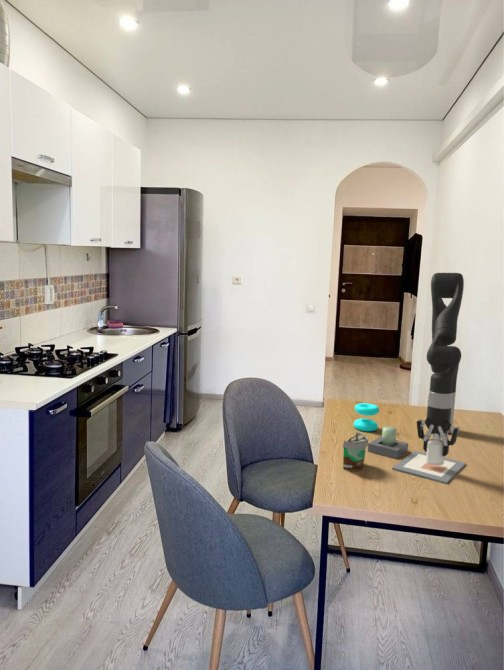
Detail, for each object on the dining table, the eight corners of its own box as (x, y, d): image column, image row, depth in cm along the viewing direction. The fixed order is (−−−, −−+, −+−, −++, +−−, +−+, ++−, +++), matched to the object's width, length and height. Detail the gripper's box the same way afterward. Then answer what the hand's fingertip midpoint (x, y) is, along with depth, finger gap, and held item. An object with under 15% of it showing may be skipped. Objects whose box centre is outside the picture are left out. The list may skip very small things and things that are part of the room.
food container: (359, 474, 171) (361, 445, 170) (341, 470, 174) (343, 441, 173) (371, 463, 182) (373, 435, 180) (354, 459, 185) (356, 431, 183)
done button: (384, 441, 197) (385, 425, 197) (397, 444, 195) (398, 428, 194) (379, 444, 193) (380, 428, 193) (392, 447, 191) (393, 431, 190)
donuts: (384, 407, 217) (364, 409, 213) (382, 431, 218) (362, 433, 214) (369, 401, 226) (350, 403, 222) (368, 424, 227) (348, 426, 223)
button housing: (379, 443, 202) (380, 436, 202) (407, 450, 196) (408, 443, 195) (367, 451, 193) (368, 443, 193) (396, 458, 187) (397, 450, 186)
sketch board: (414, 452, 194) (414, 450, 194) (465, 464, 184) (465, 462, 184) (392, 469, 177) (392, 467, 177) (446, 483, 166) (446, 481, 166)
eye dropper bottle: (442, 467, 174) (445, 432, 173) (424, 463, 177) (427, 429, 176) (444, 463, 178) (447, 428, 177) (427, 459, 181) (430, 425, 179)
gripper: (465, 406, 174) (460, 455, 176) (422, 398, 182) (418, 445, 185) (458, 411, 168) (453, 462, 170) (414, 402, 176) (410, 451, 179)
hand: (435, 453), depth 177 cm, fingers closed on eye dropper bottle, 5 cm apart
